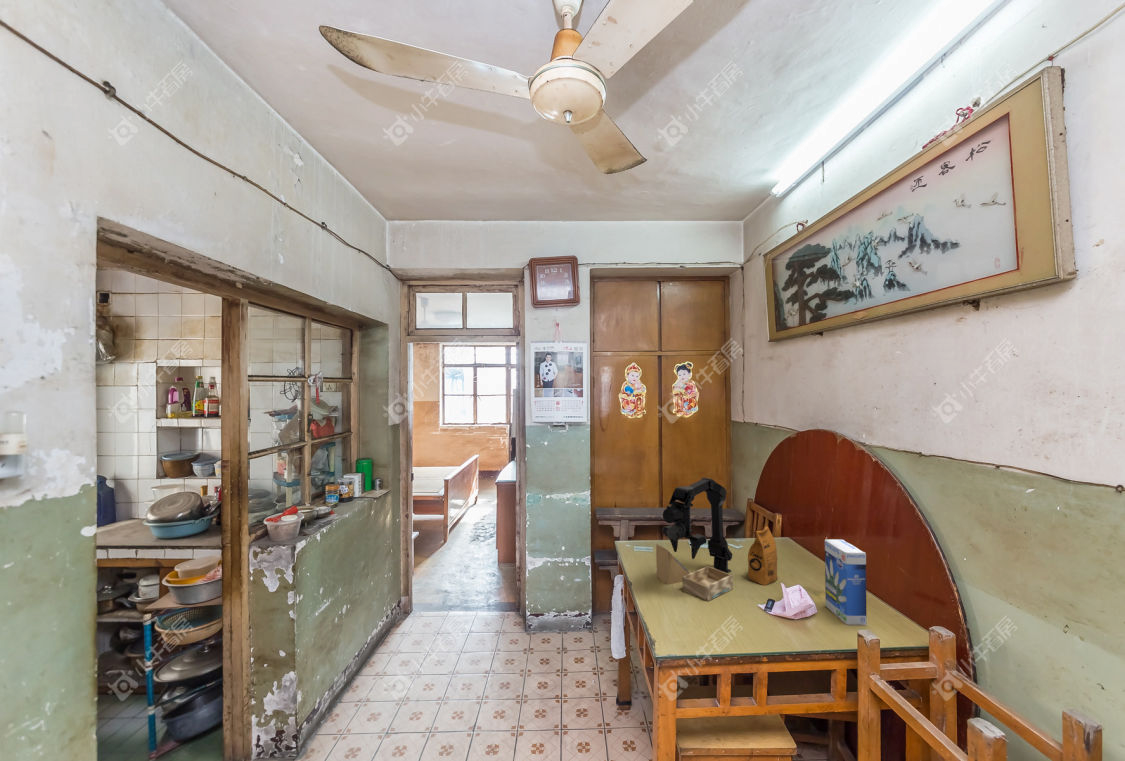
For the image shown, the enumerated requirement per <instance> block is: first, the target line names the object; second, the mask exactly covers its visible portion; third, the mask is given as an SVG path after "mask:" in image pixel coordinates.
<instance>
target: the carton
mask: <svg viewBox="0 0 1125 761" xmlns="http://www.w3.org/2000/svg"><path fill="white" fill-rule="evenodd" d="M729 575H731V574H730V573H729V572H728V573H725V572H723V571H720V570H718V569H715V568H714V567H712V566H709V565H707V566H704V567H702V568H700V569H698V570H695V571H693V572H690V574H688V575H686V576H683V577H682V582H681V583H682V590H683V592H686V593H688V594H691V595H693V596H695V597H696V598H700V599H702V600H703V601H707V586H708V585H710V584H712V583H714V582H716V581H718V580H721V579H723V578H725V577H727V576H729Z"/></svg>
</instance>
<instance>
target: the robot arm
mask: <svg viewBox="0 0 1125 761" xmlns="http://www.w3.org/2000/svg"><path fill="white" fill-rule="evenodd" d="M672 492H673V493H672V494H671V497H670V500H669V503H668V505H666V509H664V510H663V513H662V518H663V520H664V522H666V523H667V524H670V525H666V526H664V527H662V534H663V535H664V536H665V537H667V539H669V541H670V544H671V547H672V549H673V552H674V553H677V552H678V545H679V544H678V543H679V539H683V538H685V539H687V540H689V542H690V543H689V546H690V547H691V549H690V550H691V551H690V552H691V559H692V560H695V558H696V556H697V554H698V552H699V550H700V548H701V546H703V545H705V544H707V549H708V552H709V556H710V557H713V568H715V569H718V570H720V571H723V572H725V573H728V574H729V573H730V572H732V570H731V569H730V568H729V561H732V560H733V553H732V551H731V550H730V549H729V544H728V541H727V540H726V538H725V536H724V517H723V516H724V513H723V511H724V510H723V504H724V503H725V501H726V497H727V489H726V487H725V486H722V485H721V484H719V483H718V482H716V481H715V480H714V479H712V478H709V477H703V478H701V479H700V480H698V481H696V482H694V483H692V484H689V485H686V486H683V485H682V486H677V487H675V488H674V490H673V491H672ZM703 492H705V494H706V499H707V501H708V502H709V504H710V511H711V513H710V514H711V537H710V538H709V539H708V540H707V537H706V536H705V535H702V534H699V533H696V534H693V533H694V531H693V529H691V528H692V527H691V526H692V524H693V522H694V521H693V520H692V519H691V507H694V504H693V503H692V502H693V501H694V500H695V498H696V496H698V495H699V494H701V493H703ZM672 524H673V525H672Z"/></svg>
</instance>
